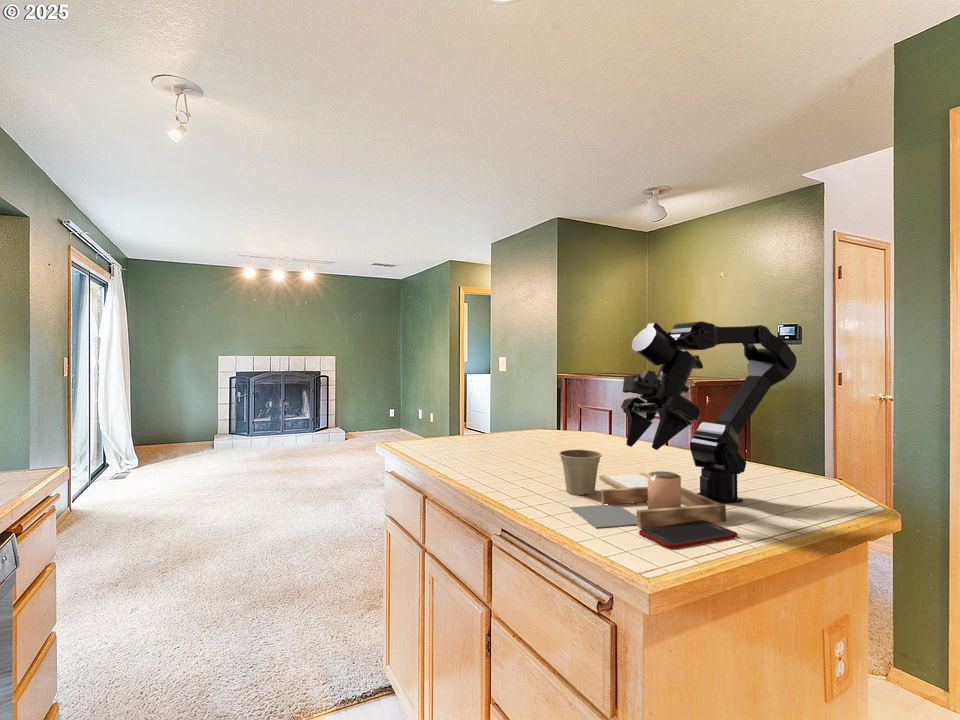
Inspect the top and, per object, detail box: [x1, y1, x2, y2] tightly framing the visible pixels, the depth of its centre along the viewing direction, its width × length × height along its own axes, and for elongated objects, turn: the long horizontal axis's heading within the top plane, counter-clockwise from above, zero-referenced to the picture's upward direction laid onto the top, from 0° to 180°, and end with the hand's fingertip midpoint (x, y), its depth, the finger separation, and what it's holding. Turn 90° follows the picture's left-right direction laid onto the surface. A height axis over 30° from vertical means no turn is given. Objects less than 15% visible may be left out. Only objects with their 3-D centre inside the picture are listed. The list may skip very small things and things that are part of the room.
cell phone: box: [638, 520, 739, 550], centre depth 82 cm, size 8×15×1 cm, turn 111°
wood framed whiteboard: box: [598, 472, 648, 489], centre depth 114 cm, size 17×12×1 cm
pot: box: [647, 470, 682, 509], centre depth 95 cm, size 6×6×7 cm
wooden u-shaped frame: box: [600, 486, 727, 529], centre depth 95 cm, size 17×15×3 cm
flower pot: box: [558, 449, 603, 496], centre depth 110 cm, size 9×9×9 cm
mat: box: [569, 504, 637, 529], centre depth 92 cm, size 10×12×1 cm
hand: (640, 447), depth 95 cm, fingers open, 9 cm apart
